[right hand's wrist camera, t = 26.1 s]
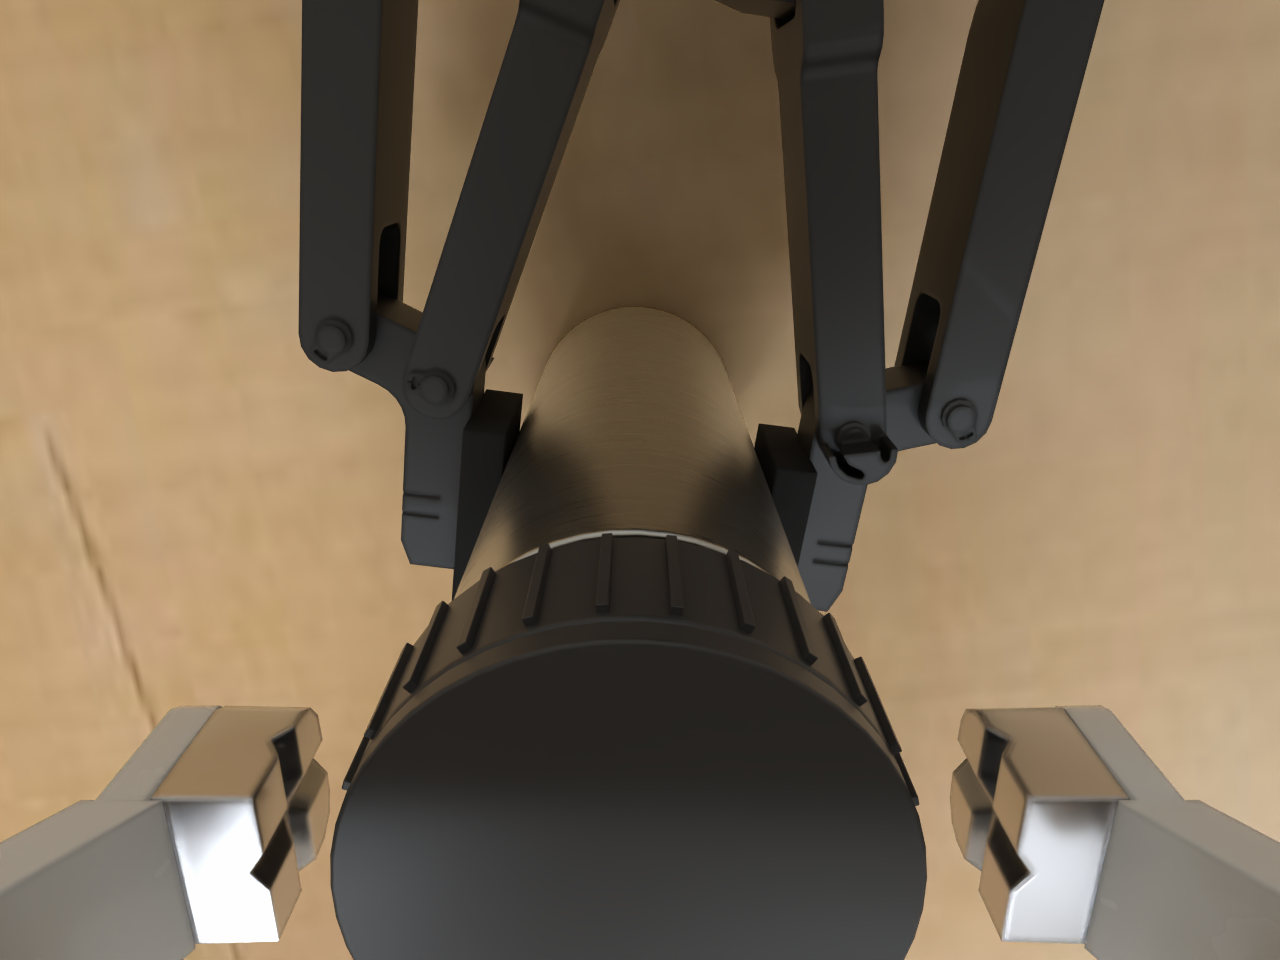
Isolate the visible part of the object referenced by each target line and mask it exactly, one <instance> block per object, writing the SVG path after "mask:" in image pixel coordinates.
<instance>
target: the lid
mask: <svg viewBox="0 0 1280 960" xmlns="http://www.w3.org/2000/svg"><path fill="white" fill-rule="evenodd" d="M901 751H902V749H901V747H900V745H899V742H898V740H897V738H896V735H895V733H894V731H893V728H892V726H891V724H890V721H889V719H888V717H887V714H886V712H885V709H884V707H883V705H882V702H881V700H880V698H879V695H878V693H877V691H876V688H875V686H874V684H873V681H872V679H871V677H870V674H869V672H868V669H867V667H866V665H865V663H864V661H863V659H862V657H859V658H856V659H854V658H853V656H852V655H851V653H850V651H849V650H848V648H847V646H846V645H845V643H844V640H843V638H842V635H841V633H840V630H839V628H838V625H837V623H836V620H835V618H834V617H833V616H832V615H831V614H830V613H828V614H826V615H825V616H823V615H822V614H821V613H820V612H819V611H818V610H816V609H815V608H814V607H813V606H812V605H811V604H810V603H809V602H808V601H807V600H806V599H804V598H803V597H802V596H801V595H800V594H799V593H797V592H796V591H795V589H794V586H793V583H792V581H791V580H790V579H788V578H787V577H785V576H784V577H783V578H782V579H781V580H778V579H777V578H776V577H774V576H772V575H770V574H769V573H767V572H765V571H763V570H761V569H759V568H757V567H755V566H753V565H751V564H749V563H747V562H745V561H743V560H740V559H739V554H738V552H736V551H733V550H730V549H729V550H728V552H727V554H724V553H721V552H718V551H715V550H713V549H709V548H705V547H701V546H696V545H692V544H687V543H683V542H679V541H677V536H674V535H666V540H662V539H652V538H613V534H612V533H603V534H602V538H601V539H597V540H590V541H583V542H575V543H571V544H567V545H563V546H559V547H556V548H552V549H551V548H550V545H549V544H545V545H541V546H539V549H538V553H535V554H533V555H530V556H528V557H525V558H523V559H520V560H518V561H515V562H513V563H510V564H508V565H506V566H504V567H502V568H501V569H499V570H497V571H494V570H493V569H492V567H489V568H487V569H486V570H484V571H483V572H482V575H481V578H480V580H479V581H478V582H476V583H475V584H474V585H472V586H471V587H470V588H468V589H467V590H466V591H464V592H463V593H462V594H460V595H459V596H458V597H456V598H455V599H454V600H453V601H452V602H451V603H450V604H449V605H448V604H446V603H445V602H444V601H442V602H441V603H440V604H439V605H438V606H437V607H436V609H435V611H434V614H433V616H432V619H431V621H430V623H429V626H428V627H427V628H426V630H425V631H424V632H423V634H422V635H421V636H420V638H419V639H418V640H417V641H416V643H415V644H414V646H413V645H411V644H409V643H406V645H405V646H404V648H403V650H402V652H401V654H400V656H399V659H398V661H397V663H396V665H395V667H394V670H393V672H392V674H391V676H390V678H389V681H388V683H387V685H386V687H385V689H384V692H383V694H382V696H381V698H380V701H379V703H378V705H377V707H376V709H375V712H374V714H373V716H372V718H371V720H370V723H369V725H368V727H367V729H366V731H365V734H364V737H363V739H362V741H361V744H360V746H359V748H358V750H357V753H356V755H355V757H354V759H353V761H352V764H351V766H350V768H349V770H348V772H347V775H346V777H345V779H344V782H343V785H342V789H344V790H347V793H346V795H345V798H344V801H343V804H342V807H341V810H340V812H339V815H338V818H337V821H336V824H335V830H334V836H333V842H332V848H331V854H330V860H331V890H332V896H333V902H334V907H335V913H336V918H337V921H338V924H339V927H340V929H341V932H342V935H343V938H344V941H345V944H346V946H347V948H348V950H349V952H350V954H351V956H352V958H353V959H354V960H904V959H905V957H906V955H907V953H908V950H909V948H910V946H911V944H912V942H913V940H914V937H915V934H916V931H917V927H918V924H919V921H920V917H921V914H922V911H923V904H924V897H925V889H926V881H927V867H926V846H925V842H924V837H923V832H922V828H921V823H920V819H919V815H918V812H917V810H916V808H915V806H917V805H919V800H918V796H917V794H916V791H915V789H914V786H913V784H912V782H911V779H910V777H909V774H908V772H907V770H906V767H905V765H904V763H903V760H902V758H901V755H900V753H899V752H901Z"/></svg>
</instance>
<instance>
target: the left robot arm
mask: <svg viewBox="0 0 1280 960" xmlns="http://www.w3.org/2000/svg"><path fill="white" fill-rule="evenodd" d="M716 1H718V2H720V3H723V4H725V5H727V6H729V7H731V8H733V9H735V10H738V11H740V12H742V13H747V14H754V15H761V16H768V17H770V21H771V36H772V51H773V62H774V68H775V73H776V76H777V80H778V87H779V100H780V115H781V131H782V147H783V163H784V178H785V194H786V210H787V226H788V242H789V257H790V273H791V289H792V305H793V320H794V336H795V352H796V368H797V384H798V399H799V408H800V412H801V420H800V425H799V430H798V435H797V433H796V431H795V429H794V428H790V427H782V426H774V425H766V424H759V425H758V431H757V436H756V442H755V447H754V449H755V452H756V455H757V457H758V460H759V463H760V466H761V468H762V471H763V474H764V477H765V479H766V482H767V485H768V487H769V490H770V493H771V496H772V498H773V501H774V504H775V507H776V509H777V512H778V515H779V518H780V520H781V523H782V526H783V529H784V531H785V534H786V537H787V540H788V542H789V545H790V548H791V551H792V553H793V556H794V559H795V562H796V564H797V567H798V570H799V573H800V575H801V578H802V581H803V584H804V586H805V589H806V592H807V594H808V597H809V600H810V603H811V605H812V606H813V607H814V608H815V609H816V610H819V611H828V610H829V609H830V607H831V606H832V604H833V603H834V602H835V600H836V599H837V597H838V596H839V595H840V593H841V592H842V590H843V586H844V581H845V577H846V573H847V569H848V562H849V560H850V556H851V552H852V544H853V543H854V539H855V535H856V531H857V527H858V522H859V518H860V514H861V510H862V505H863V501H864V497H865V493H866V489H867V484H871V483H874V482H877V481H879V480H880V479H881V478H883V477H884V476H885V475H887V474H888V473H889V472H890V470H891V469H892V467H893V465H894V464H895V462H896V458H897V452H898V451H901V450H905V449H910V448H915V447H920V446H924V445H929V444H934V443H938V444H939V445H941V446H944V447H947V448H950V449H955V448H965V447H967V446H969V445H971V444H974V443H976V442H977V441H978V440H979V439H980V438H981V437H982V436H983V435H984V434H985V433H986V432H987V430H988V428H989V426H990V423H991V421H992V418H993V414H994V410H995V407H996V403H997V399H998V395H999V392H1000V388H1001V384H1002V381H1003V377H1004V373H1005V369H1006V366H1007V362H1008V358H1009V354H1010V351H1011V347H1012V343H1013V339H1014V336H1015V332H1016V328H1017V325H1018V321H1019V317H1020V313H1021V310H1022V306H1023V302H1024V298H1025V295H1026V291H1027V287H1028V283H1029V280H1030V276H1031V272H1032V268H1033V265H1034V261H1035V257H1036V254H1037V250H1038V246H1039V242H1040V239H1041V235H1042V231H1043V227H1044V224H1045V220H1046V216H1047V212H1048V209H1049V205H1050V201H1051V198H1052V194H1053V190H1054V186H1055V183H1056V179H1057V175H1058V171H1059V168H1060V164H1061V160H1062V156H1063V153H1064V149H1065V145H1066V141H1067V138H1068V134H1069V130H1070V127H1071V123H1072V119H1073V115H1074V112H1075V108H1076V104H1077V100H1078V97H1079V93H1080V89H1081V85H1082V82H1083V78H1084V74H1085V70H1086V67H1087V63H1088V59H1089V56H1090V52H1091V48H1092V44H1093V41H1094V37H1095V33H1096V29H1097V26H1098V22H1099V18H1100V14H1101V11H1102V7H1103V3H1104V0H979V1H978V4H977V6H976V9H975V13H974V16H973V20H972V24H971V27H970V31H969V35H968V39H967V43H966V48H965V52H964V57H963V61H962V66H961V70H960V75H959V79H958V84H957V88H956V93H955V97H954V102H953V106H952V111H951V115H950V120H949V124H948V129H947V133H946V138H945V142H944V146H943V151H942V155H941V160H940V164H939V169H938V173H937V178H936V182H935V187H934V191H933V196H932V200H931V205H930V209H929V214H928V218H927V223H926V227H925V232H924V236H923V241H922V245H921V250H920V254H919V259H918V263H917V268H916V272H915V277H914V281H913V286H912V290H911V295H910V299H909V304H908V308H907V313H906V317H905V322H904V326H903V331H902V335H901V340H900V344H899V349H898V353H897V358H896V362H895V367H891V368H887V369H885V343H884V307H883V270H882V234H881V198H880V162H879V125H878V89H877V67H878V60H879V57H880V53H881V49H882V44H883V36H884V7H883V0H716ZM618 3H619V0H520V2H519V10H518V14H517V18H516V22H515V25H514V28H513V31H512V34H511V38H510V41H509V44H508V47H507V50H506V53H505V56H504V60H503V63H502V66H501V69H500V72H499V75H498V78H497V82H496V85H495V88H494V91H493V94H492V97H491V100H490V104H489V107H488V110H487V113H486V116H485V119H484V122H483V126H482V129H481V132H480V135H479V138H478V141H477V144H476V148H475V151H474V154H473V157H472V160H471V163H470V166H469V170H468V173H467V176H466V179H465V182H464V185H463V188H462V192H461V195H460V198H459V201H458V204H457V207H456V210H455V214H454V217H453V220H452V223H451V226H450V229H449V232H448V235H447V239H446V242H445V245H444V248H443V251H442V254H441V257H440V261H439V264H438V267H437V270H436V273H435V276H434V279H433V283H432V286H431V289H430V292H429V295H428V298H427V301H426V305H425V308H424V311H423V313H422V312H420V311H418V310H416V309H414V308H412V307H410V306H408V305H406V304H404V303H403V286H404V267H405V248H406V228H407V209H408V190H409V170H410V151H411V131H412V112H413V93H414V73H415V54H416V35H417V15H418V0H302V76H301V168H300V260H299V338H300V343H301V347H302V349H303V350H304V352H305V354H306V355H307V357H308V358H309V359H310V360H311V361H312V362H313V363H315V364H316V365H317V366H319V367H320V368H323V369H326V370H329V371H332V372H338V371H347V370H349V371H351V372H353V373H355V374H358V375H360V376H362V377H364V378H366V379H368V380H370V381H372V382H374V383H376V384H378V385H380V386H382V387H383V388H385V389H386V390H388V391H389V392H390V393H391V394H392V395H393V396H394V397H395V398H396V399H397V401H398V403H399V404H400V406H401V407H402V410H403V413H404V416H405V424H406V433H405V457H404V481H403V491H404V493H403V505H402V510H403V514H402V529H401V541H402V544H403V546H404V549H405V551H406V554H407V557H408V559H409V562H410V564H415V565H423V566H432V567H440V568H449V569H454V576H453V592H452V601H453V600H454V597H455V595H456V592H457V590H458V587H459V585H460V582H461V580H462V577H463V575H464V572H465V569H466V567H467V564H468V562H469V559H470V557H471V554H472V552H473V549H474V547H475V544H476V541H477V539H478V536H479V534H480V531H481V529H482V526H483V524H484V521H485V519H486V516H487V514H488V511H489V508H490V506H491V503H492V501H493V498H494V496H495V493H496V491H497V488H498V486H499V483H500V480H501V478H502V475H503V473H504V470H505V468H506V465H507V463H508V460H509V458H510V455H511V452H512V450H513V447H514V445H515V442H516V440H517V437H518V435H519V432H520V421H521V410H522V399H523V394H519V393H511V392H503V391H495V390H486V391H485V393H484V385H485V372H486V371H487V369H488V367H489V366H490V364H491V363H492V361H493V359H494V358H493V357H492V356H493V353H494V350H495V348H496V345H497V342H498V339H499V336H500V333H501V330H502V328H503V325H504V322H505V319H506V316H507V313H508V311H509V308H510V305H511V302H512V299H513V296H514V294H515V291H516V288H517V285H518V282H519V279H520V276H521V274H522V271H523V268H524V265H525V262H526V259H527V257H528V254H529V251H530V248H531V245H532V242H533V240H534V237H535V234H536V231H537V228H538V225H539V222H540V220H541V217H542V214H543V211H544V208H545V205H546V203H547V200H548V197H549V194H550V191H551V188H552V186H553V183H554V180H555V177H556V174H557V171H558V168H559V166H560V163H561V160H562V157H563V154H564V151H565V149H566V146H567V143H568V140H569V137H570V134H571V132H572V129H573V126H574V123H575V120H576V117H577V114H578V112H579V109H580V106H581V103H582V100H583V97H584V95H585V92H586V89H587V86H588V83H589V80H590V78H591V75H592V72H593V69H594V66H595V63H596V61H597V58H598V56H599V53H600V51H601V49H602V47H603V44H604V42H605V39H606V37H607V34H608V31H609V29H610V26H611V23H612V20H613V17H614V15H615V12H616V9H617V6H618Z"/></svg>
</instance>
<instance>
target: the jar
mask: <svg viewBox="0 0 1280 960" xmlns="http://www.w3.org/2000/svg"><path fill="white" fill-rule="evenodd" d="M603 533H612V534H613V538H652V539H662V540H666V535H674V536H677V541H679V542H683V543H687V544H692V545H696V546H701V547H705V548H709V549H713V550H715V551H718V552H721V553H724V554H727V552H728V550H729V549H730V550H733V551H736V552H738V554H739V559H740V560H743V561H745V562H747V563H749V564H751V565H753V566H755V567H757V568H759V569H761V570H763V571H765V572H767V573H769V574H770V575H772V576H774V577H776V578H777V579H778V580H781V579H782V578H783V577H784V576H785V577H787V578H788V579H790V580H791V581H792V583H793V586H794V589H795V591H796V592H797V593H799V594H800V595H801V596H802V597H803V598H804V599H806V600H807V601H808V602H809V603H810V600H809V597H808V594H807V592H806V589H805V586H804V584H803V581H802V578H801V575H800V573H799V570H798V567H797V564H796V562H795V559H794V556H793V553H792V551H791V548H790V545H789V542H788V540H787V537H786V534H785V531H784V529H783V526H782V523H781V520H780V518H779V515H778V512H777V509H776V507H775V504H774V501H773V498H772V496H771V493H770V490H769V487H768V485H767V482H766V479H765V477H764V474H763V471H762V468H761V466H760V463H759V460H758V457H757V455H756V452H755V449H754V446H753V444H752V441H751V438H750V435H749V433H748V430H747V427H746V424H745V422H744V419H743V416H742V413H741V411H740V408H739V405H738V402H737V400H736V397H735V394H734V391H733V389H732V386H731V383H730V381H729V378H728V375H727V372H726V370H725V367H724V365H723V362H722V360H721V358H720V356H719V355H718V353H717V351H716V350H715V348H714V347H713V345H712V344H711V343H710V342H709V340H708V339H707V338H706V337H705V336H704V335H703V334H702V333H701V332H700V331H699V330H698V329H696V328H695V327H694V326H692V325H691V324H690V323H688V322H687V321H685V320H683V319H681V318H679V317H678V316H676V315H673V314H670V313H668V312H665V311H662V310H658V309H653V308H646V307H623V308H616V309H611V310H608V311H605V312H601V313H599V314H597V315H594V316H592V317H590V318H588V319H586V320H585V321H583V322H581V323H580V324H578V325H577V326H576V327H574V328H573V329H572V330H571V331H570V332H568V333H567V334H566V335H565V337H564V338H563V339H562V340H561V341H560V342H559V343H558V345H557V346H556V348H555V349H554V350H553V352H552V354H551V356H550V358H549V359H548V361H547V363H546V366H545V369H544V371H543V374H542V376H541V379H540V381H539V384H538V386H537V389H536V391H535V394H534V397H533V399H532V402H531V404H530V407H529V409H528V412H527V414H526V417H525V419H524V422H523V424H522V427H521V430H520V432H519V435H518V437H517V440H516V442H515V445H514V447H513V450H512V452H511V455H510V458H509V460H508V463H507V465H506V468H505V470H504V473H503V475H502V478H501V480H500V483H499V486H498V488H497V491H496V493H495V496H494V498H493V501H492V503H491V506H490V508H489V511H488V514H487V516H486V519H485V521H484V524H483V526H482V529H481V531H480V534H479V536H478V539H477V541H476V544H475V547H474V549H473V552H472V554H471V557H470V559H469V562H468V564H467V567H466V569H465V572H464V575H463V577H462V580H461V582H460V585H459V587H458V590H457V592H456V595H455V597H454V599H455V598H456V597H458V596H459V595H460V594H462V593H463V592H464V591H466V590H467V589H468V588H470V587H471V586H472V585H474V584H475V583H476V582H478V581H479V580H480V578H481V575H482V572H483V571H484V570H486V569H487V568H489V567H492V569H493V570H494V571H497V570H499V569H501V568H502V567H504V566H506V565H508V564H510V563H513V562H515V561H518V560H520V559H523V558H525V557H528V556H530V555H533V554H535V553H538V549H539V546H541V545H545V544H549V545H550V548H551V549H552V548H556V547H559V546H563V545H567V544H571V543H575V542H583V541H590V540H597V539H601V538H602V534H603ZM810 604H811V603H810Z"/></svg>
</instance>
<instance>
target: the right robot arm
mask: <svg viewBox="0 0 1280 960" xmlns="http://www.w3.org/2000/svg"><path fill="white" fill-rule="evenodd" d="M321 741H322V735H321V729H320V724H319V719H318V715H317V714H316V713H315V712H314V711H313V710H312V709H311V708H302V707H255V706H224V707H221V706H179V707H176V708H174V709H171V710H169V712H168V713H167V714H166V715H165V716H164V717H163V719H162V720H161V721H160V722H159V723H158V725H157V726H156V727H155V728H154V730H153V731H152V732H151V733H150V734H149V736H148V737H147V738H146V739H145V740H144V742H143V743H142V744H141V745H140V747H139V748H138V749H137V750H136V751H135V753H134V754H133V755H132V756H131V757H130V759H129V760H128V761H127V762H126V764H125V765H124V766H123V767H122V768H121V770H120V771H119V772H118V773H117V774H116V776H115V777H114V778H113V779H112V781H111V782H110V783H109V784H108V785H107V787H106V788H105V789H104V790H103V791H102V793H101V794H100V795H99V796H98V798H97V799H96V800H81V801H79V802H77V803H75V804H73V805H71V806H69V807H67V808H65V809H63V810H62V811H60V812H58V813H56V814H54V815H52V816H50V817H48V818H46V819H44V820H43V821H41V822H39V823H37V824H35V825H33V826H31V827H29V828H27V829H25V830H23V831H22V832H20V833H18V834H16V835H14V836H12V837H10V838H8V839H6V840H4V841H3V842H1V843H0V960H183V959H184V958H185V957H186V956H187V955H188V954H190V953H191V952H192V951H193V950H194V949H195V944H202V943H236V942H270V941H279V939H280V937H281V935H282V932H283V930H284V928H285V926H286V924H287V921H288V919H289V917H290V915H291V913H292V910H293V908H294V906H295V904H296V902H297V899H298V897H299V895H300V893H301V885H300V878H299V871H300V870H301V869H303V868H304V867H305V866H307V865H308V864H309V863H311V862H312V861H313V860H315V859H316V857H317V854H318V852H319V850H320V847H321V845H322V843H323V840H324V837H325V832H326V827H327V822H328V817H329V812H330V789H329V781H328V774H327V772H326V771H325V770H324V769H323V767H322V766H321V765H320V764H319V763H318V762H317V761H316V760H315V759H314V758H313V757H314V755H315V753H316V751H317V749H318V747H319V745H320V743H321ZM958 741H959V743H960V745H961V747H962V749H963V751H964V753H965V755H966V757H967V758H966V759H965V760H964V761H963V762H962V764H961V765H960V766H959V767H958V768H957V769H956V770H955V771H954V772H953V775H952V784H951V793H950V804H951V817H952V824H953V828H954V832H955V836H956V840H957V843H958V845H959V847H960V850H961V852H962V854H963V857H964V859H965V860H967V861H968V862H969V863H971V864H972V865H973V866H975V867H976V868H978V869H979V870H980V871H982V873H981V879H980V885H979V893H980V895H981V897H982V899H983V901H984V904H985V906H986V908H987V910H988V912H989V915H990V917H991V919H992V921H993V923H994V925H995V928H996V930H997V932H998V934H999V936H1000V939H1001V941H1007V942H1042V943H1078V944H1085V946H1084V948H1085V949H1086V950H1088V951H1089V952H1090V953H1091V954H1092V955H1093V956H1094V957H1096V958H1097V959H1098V960H1280V843H1279V842H1277V841H1275V840H1274V839H1272V838H1270V837H1268V836H1266V835H1264V834H1262V833H1260V832H1258V831H1257V830H1255V829H1253V828H1251V827H1249V826H1247V825H1245V824H1243V823H1241V822H1239V821H1238V820H1236V819H1234V818H1232V817H1230V816H1228V815H1226V814H1224V813H1222V812H1220V811H1219V810H1217V809H1215V808H1213V807H1211V806H1209V805H1207V804H1205V803H1203V802H1201V801H1200V800H1184V799H1183V797H1182V796H1181V795H1180V794H1179V793H1178V791H1177V790H1176V789H1175V788H1174V787H1173V785H1172V784H1171V783H1170V782H1169V780H1168V779H1167V778H1166V777H1165V776H1164V774H1163V773H1162V772H1161V771H1160V770H1159V768H1158V767H1157V766H1156V765H1155V764H1154V762H1153V761H1152V760H1151V759H1150V757H1149V756H1148V755H1147V754H1146V753H1145V751H1144V750H1143V749H1142V748H1141V747H1140V745H1139V744H1138V743H1137V742H1136V741H1135V739H1134V738H1133V737H1132V736H1131V734H1130V733H1129V732H1128V731H1127V730H1126V728H1125V727H1124V726H1123V725H1122V724H1121V722H1120V721H1119V720H1118V719H1117V718H1116V716H1115V715H1114V714H1113V713H1112V711H1110V710H1109V709H1107V708H1105V707H1103V706H1101V705H1087V706H1057V707H1055V708H988V709H966V710H965V713H964V715H963V717H962V719H961V723H960V729H959V735H958Z"/></svg>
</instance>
